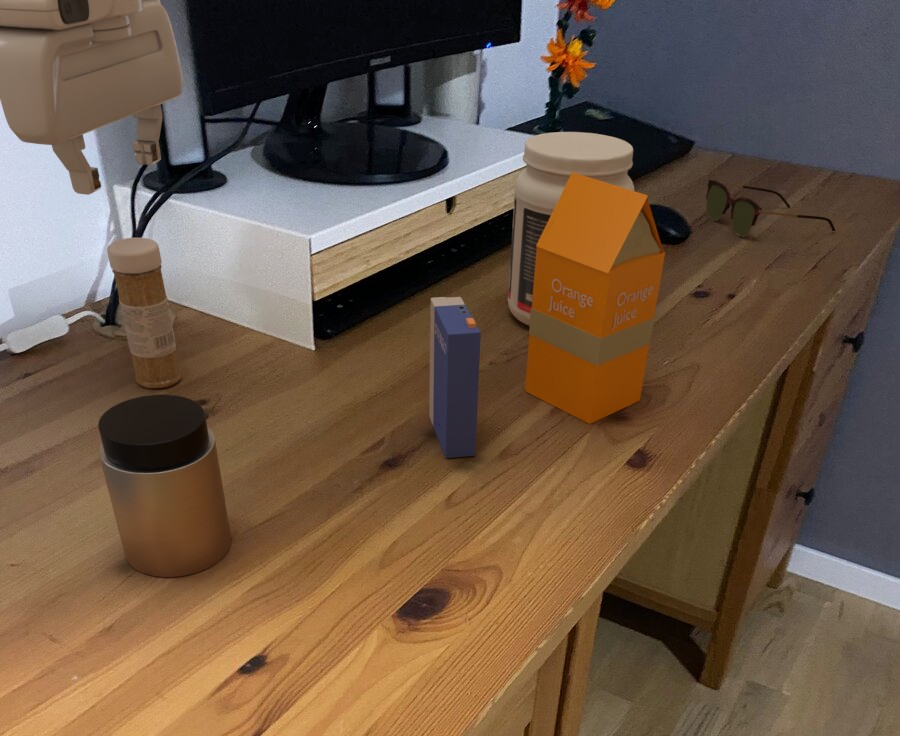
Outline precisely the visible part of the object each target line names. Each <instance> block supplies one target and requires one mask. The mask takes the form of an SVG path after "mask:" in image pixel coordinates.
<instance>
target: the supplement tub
mask: <svg viewBox="0 0 900 736" xmlns="http://www.w3.org/2000/svg"><path fill="white" fill-rule="evenodd" d="M523 152H524V153H523V155H522V161H523V163H524V164H525V165H526V168H525V169H524V170H523V171H522V172H521V173H520V174H519V176H518V178H517V179H516V182H515V185H514V186H515V187H514V199H513V215H512V231H511V244H510V245H511V247H510V263H509V279H508V294H507V295H508V296H507V304H508V308H509V311H510V312H511V314H512V315H513V317H514V318H515V319H516V320H518V321H519V322H521V323H522V324H524V325H526V326H528V327H530V315H531V308H532V298H533V286H534V274H535V262H536V250H537V246H536V245H537V243H538V241H539V239H540V237H541V235H542V233H543V231H544V229H545V227H546V225H547V223H548V221H549V218H550V216H551V214H552V212H553V210H554V208H555V206H556V204H557V202H558V200H559V198H560V196H561V194H562V192H563V190H564V188H565V186H566V184H567V182H568V180H569V178H570V176H571V174H572V172H573V173H576V174H580V175H583V176H586V177H589V178H593V179H596V180H599V181H602V182H606V183H609V184H612V185H615V186H619V187H622V188H625V189H628V190H632V191H635V192H636V190H635V185H634V182H633V180H632V178H631V177H630V176H629V174H628V171H630V170H631V169H632V167H633V165H634V162H633V158H634V157H633V156H634V148H633V145H631V144H630V143H629V142H627V141H626V140H624V139H621V138H619V137H615V136H610V135H605V134H599V133H593V132H583V131H582V132H581V131H557V132H546V133H540V134H536V135H533V136H531V137H529V138H528V139H527V140H526V141H525V143H524V151H523Z"/></svg>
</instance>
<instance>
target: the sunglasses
mask: <svg viewBox="0 0 900 736" xmlns="http://www.w3.org/2000/svg"><path fill="white" fill-rule="evenodd" d="M706 184H707V191H706V195H705V199H706V203H705V213H706V215H707V217H708V218H709V219H710V220H711V221H714V220H715V221H714V222H717V221H719V220H720V219H721V218H722V216H723V215H725V214H726V213H727V211H728V210H729V209H731V210H730V220H731V229H732V231H733V233H734V232H736V233H738V234H739V235H741V236H742V237H741V238H744V237H747V236H748V234H749V233H750V231H751V229H752V227H755V225H756V223H757V220H758V218H759V215H761V214H763V215H774V216H783V217H790V218H797V219H798V218H800V219H810V220H811V219H812V220H821V221H826V222H828V224H829V226H830V228H831V231H832V232H833V231H835V232H836V228H835V226H834V224H833V221H832V220H831V219H830V218H828V217H824V216H817V215H807V214H806V215H805V214H793V213H786V212H779V211H772V210H766V209H765V210H764V209H763V208H762V207H761V206H760V205H759V203H757V202H756V201H755V200H753V199H751V198H749V197H737V198H735V199H734V198H733V197H732V195H731V192H730V190H729V189H728V188H727V187H732V188H733V187H734V188H739V189H747V190H754V191H760V192H765V193H771V194H775V195H777V196H778V197H779V198H780V199H781V200H782V202H783V203H784V204H785V206H786V207H787V208H788V209H790V208H791V205H790V204H789V203H788V202H787V200H786V198H785V197H784V195H782V194H781V193H780V192H778V191H775V190H772V189H768V188H763V187H757V186H750V185H749V186H748V185H743V184H735V183H729V182H721V181H717V180H714V179H708V180H707V183H706ZM711 218H712V219H711ZM713 219H714V220H713ZM736 233H734V234H735V235H736V236H737V237H740V236H739V235H737V234H736Z"/></svg>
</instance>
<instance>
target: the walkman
mask: <svg viewBox="0 0 900 736" xmlns="http://www.w3.org/2000/svg"><path fill="white" fill-rule="evenodd" d="M429 316H430V317H429V319H430V320H429V321H430V322H429V323H430V327H429V329H430V332H429V333H430V334H429V337H430V338H429V397H428V398H429V401H428V402H429V404H428V406H429V407H428V408H429V409H428V410H429V411H428V414H429V420H430V422H431V425H432V428H433V430H434V431H435V432H434V433H435V436H436V437H437V440H438V443H439V445H440V448H441V450H442V453H443V455H444V458H445V459H453V458H455V459H456V458H464V457H475V456H476V448H477V447H476V446H477V427H478V426H477V425H478V424H477V423H478V407H479V405H478V403H479V402H478V401H479V385H480V384H479V383H480V382H479V381H480V379H479V378H480V359H481V337H482V332H481V329H479V327H478V325H477V322H476V321H475V318H474V317H473V316H472V313H471V312H470V310H469V309H468V307H467V305H466V304H465V302H464V300H463V298H462V296H453V297H450V296H449V297H446V296H438V297H431V298H430V315H429Z"/></svg>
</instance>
